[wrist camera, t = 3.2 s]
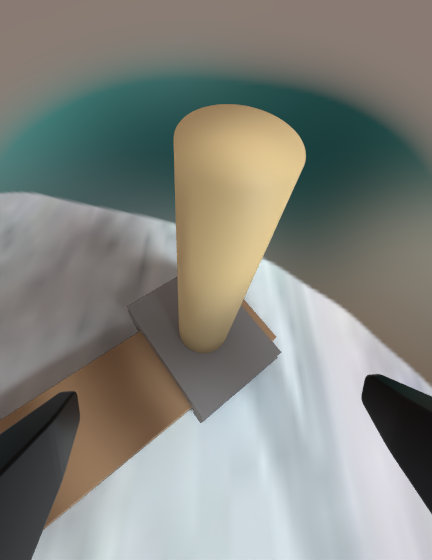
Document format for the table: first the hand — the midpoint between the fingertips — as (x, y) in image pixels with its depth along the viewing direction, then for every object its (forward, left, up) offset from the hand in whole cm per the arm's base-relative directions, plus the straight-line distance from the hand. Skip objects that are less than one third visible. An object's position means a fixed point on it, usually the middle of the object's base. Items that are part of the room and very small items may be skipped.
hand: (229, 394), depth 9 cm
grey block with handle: (+2, +4, -12) cm, 13 cm away
